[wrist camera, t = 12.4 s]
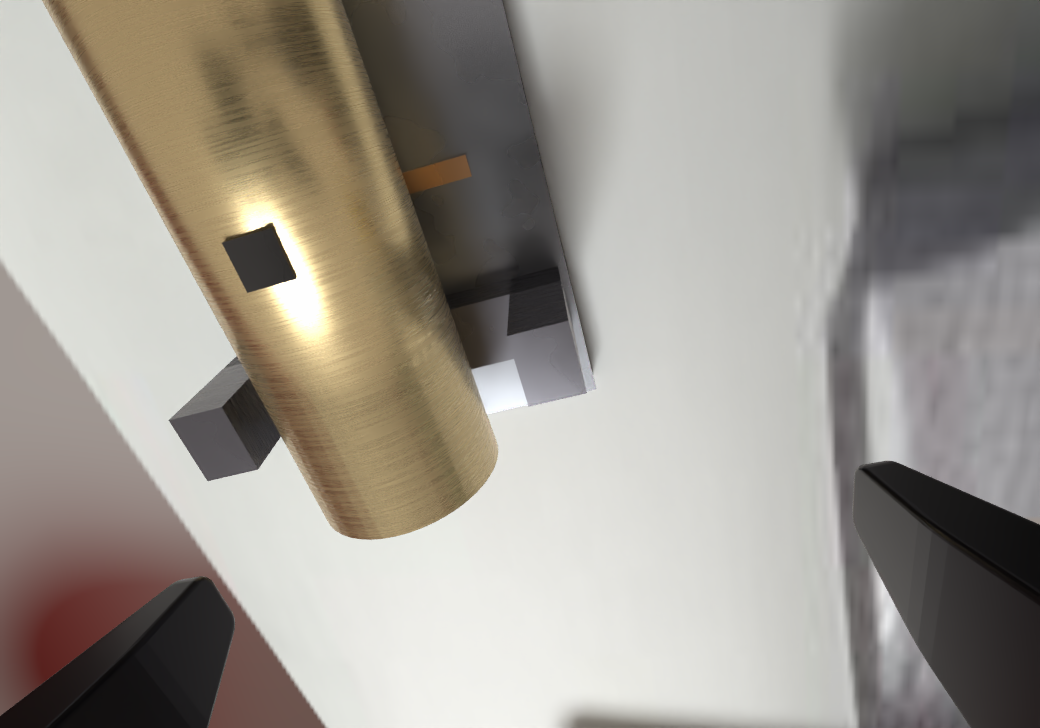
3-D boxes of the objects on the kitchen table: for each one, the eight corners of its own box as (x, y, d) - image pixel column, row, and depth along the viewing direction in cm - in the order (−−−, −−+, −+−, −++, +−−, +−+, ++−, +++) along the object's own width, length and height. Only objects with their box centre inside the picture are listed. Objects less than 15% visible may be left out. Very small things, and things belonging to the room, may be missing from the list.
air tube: (-192, -677, 9) (-917, -1461, 4) (85, -827, 8) (-420, -1902, 4) (352, 442, 18) (298, 559, 14) (500, 406, 18) (495, 515, 13)
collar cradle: (-206, -539, 11) (-787, -1038, 6) (306, -808, 10) (87, -1713, 5) (307, 442, 21) (242, 549, 16) (592, 375, 20) (615, 470, 15)
